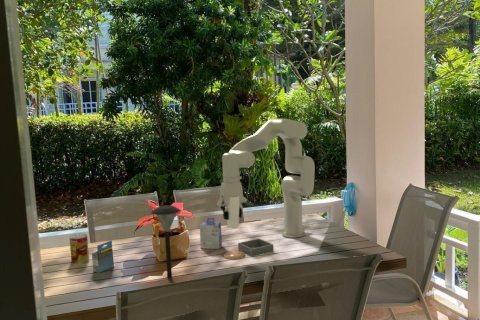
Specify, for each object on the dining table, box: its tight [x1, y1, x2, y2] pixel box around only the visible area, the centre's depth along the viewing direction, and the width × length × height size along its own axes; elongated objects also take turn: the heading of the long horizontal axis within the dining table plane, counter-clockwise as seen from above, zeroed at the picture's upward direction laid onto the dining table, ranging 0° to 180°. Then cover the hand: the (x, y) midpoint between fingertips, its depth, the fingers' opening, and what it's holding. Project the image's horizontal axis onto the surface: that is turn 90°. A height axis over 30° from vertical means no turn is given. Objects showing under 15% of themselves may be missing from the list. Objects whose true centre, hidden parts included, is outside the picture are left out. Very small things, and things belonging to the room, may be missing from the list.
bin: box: [237, 238, 274, 257], centre depth 227 cm, size 12×12×4 cm
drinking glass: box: [225, 196, 240, 230], centre depth 219 cm, size 7×7×15 cm
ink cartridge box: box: [199, 217, 223, 250], centre depth 235 cm, size 10×6×14 cm, turn 79°
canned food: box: [69, 233, 90, 265], centre depth 222 cm, size 8×8×12 cm
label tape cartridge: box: [91, 240, 115, 274], centre depth 209 cm, size 9×4×12 cm, turn 150°
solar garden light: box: [150, 204, 181, 279], centre depth 195 cm, size 12×12×30 cm
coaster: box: [223, 250, 246, 260], centre depth 221 cm, size 10×10×1 cm
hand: (232, 217), depth 219 cm, fingers closed on drinking glass, 6 cm apart
